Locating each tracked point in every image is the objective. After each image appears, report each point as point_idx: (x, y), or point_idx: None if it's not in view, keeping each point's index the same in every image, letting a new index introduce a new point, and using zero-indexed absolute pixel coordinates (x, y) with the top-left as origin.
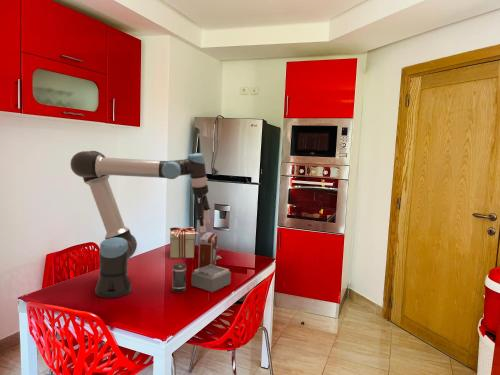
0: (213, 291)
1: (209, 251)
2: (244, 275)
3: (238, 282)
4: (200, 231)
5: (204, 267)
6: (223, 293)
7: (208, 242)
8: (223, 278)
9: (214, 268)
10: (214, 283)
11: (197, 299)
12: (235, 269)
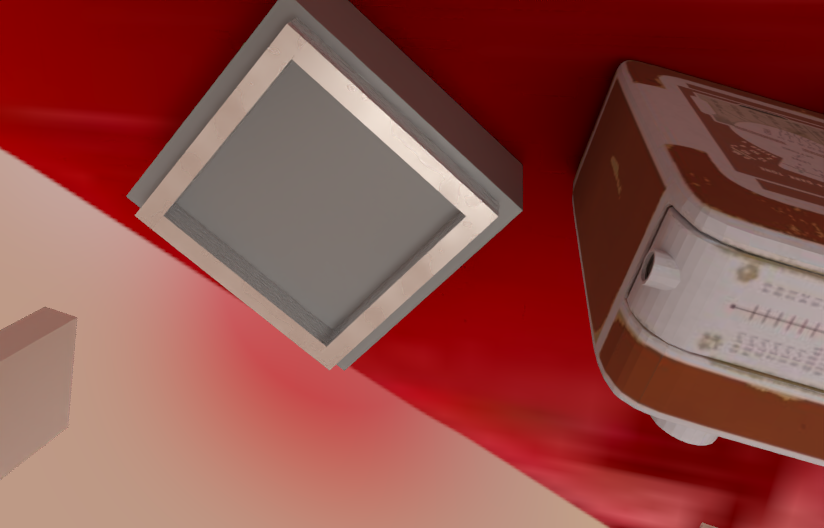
0: None
1: (592, 275)
2: (554, 442)
3: (394, 372)
4: (30, 319)
5: (390, 147)
6: None
7: (616, 327)
8: None
9: (427, 244)
10: None
11: (11, 22)
12: None
